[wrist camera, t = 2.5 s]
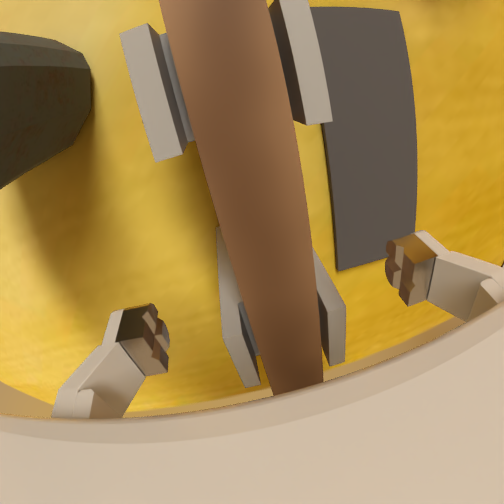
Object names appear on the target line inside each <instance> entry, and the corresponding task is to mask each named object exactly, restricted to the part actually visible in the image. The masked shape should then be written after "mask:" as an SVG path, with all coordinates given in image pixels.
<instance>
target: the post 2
mask: <svg viewBox="0 0 504 504" xmlns="http://www.w3.org/2000/svg"><path fill="white" fill-rule="evenodd" d="M216 242H217V261H218V278H219V294H220V309H221V323H222V336H223V340H224V343H225V345H226V347H227V349H228V352H229V354H230V356H231V358H232V361H233V363H234V365H235V367H236V369H237V371H238V374H239V376H240V378H241V380H242V382H243V384H244V386H245V388H247V387H252V386H257V385H261V382H260V377H259V371H258V366H257V360H256V356H257V355H260V352H259V349H258V346H257V343H256V340H255V337H254V334H253V331H252V328H251V325H250V322H249V318H248V315H247V312H246V309H245V306H244V303H243V300H242V296H241V293H240V290H239V287H238V284H237V280H236V277H235V274H234V271H233V267H232V264H231V261H230V258H229V254H228V251H227V248H226V244H225V241H224V238H223V234H222V231H221V228H220V226H219V227H216ZM312 249H313V247H312ZM313 258H314V267H315V276H316V286H317V297H318V308H319V320H320V333H321V345H322V348H323V351H324V353H325V356H326V358H327V361H328V363H329V366H333V365H336V364H339V363H342V362H345V337H346V306H345V304H344V302H343V300H342V298H341V296H340V295H339V293H338V291H337V289H336V287H335V286H334V284H333V282H332V280H331V279H330V277H329V275H328V273H327V271H326V270H325V268H324V266H323V264H322V263H321V261H320V259H319V258H318V256H317V254H316V252H315V251H314V249H313Z"/></svg>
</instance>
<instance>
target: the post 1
mask: <svg viewBox="0 0 504 504" xmlns="http://www.w3.org/2000/svg"><path fill="white" fill-rule="evenodd" d="M268 10H269V14H270V18H271V22H272V26H273V30H274V34H275V38H276V42H277V46H278V51H279V55H280V59H281V64H282V68H283V73H284V78H285V82H286V87H287V92H288V97H289V102H290V107H291V112H292V117H293V120H295V121H297V122H300V123H302V124H304V125H312V124H319V123H325V122H332V121H333V120H332V113H331V107H330V100H329V95H328V89H327V83H326V78H325V73H324V67H323V62H322V58H321V53H320V48H319V44H318V39H317V35H316V31H315V26H314V22H313V18H312V14H311V10H310V7H309V3H308V0H274V2H273V3H272V4H271V5H270V7H269V8H268ZM120 38H121V42H122V47H123V51H124V55H125V59H126V63H127V67H128V70H129V74H130V78H131V82H132V85H133V89H134V93H135V96H136V100H137V103H138V107H139V110H140V114H141V117H142V121H143V124H144V127H145V131H146V134H147V137H148V140H149V143H150V147H151V150H152V153H153V156H154V159H155V162H159V161H162V160H165V159H169V158H172V157H175V156H178V155H182V154H183V152H184V150H185V148H186V146H187V144H188V142H191V141H195V138H194V134H193V130H192V127H191V123H190V120H189V116H188V112H187V108H186V105H185V101H184V97H183V94H182V90H181V86H180V82H179V78H178V75H177V71H176V67H175V63H174V59H173V55H172V51H171V47H170V43H169V39H168V36H167V33H165V34H161V35H159V34H158V33H157V32H156V31H155V30H154V29H153V28H152V27H151V26H150V25H149V24H148V23H147V24H144V25H141V26H138V27H135V28H133V29H130V30H128V31H125V32H123V33H120Z"/></svg>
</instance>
